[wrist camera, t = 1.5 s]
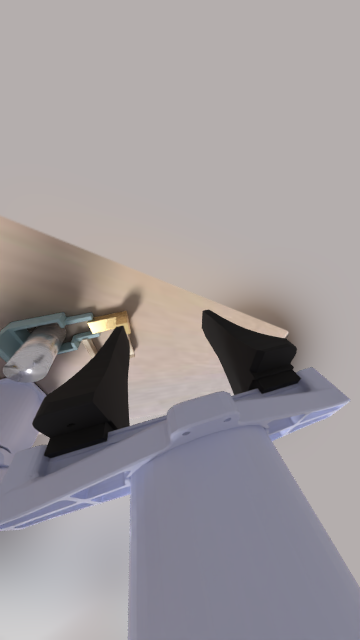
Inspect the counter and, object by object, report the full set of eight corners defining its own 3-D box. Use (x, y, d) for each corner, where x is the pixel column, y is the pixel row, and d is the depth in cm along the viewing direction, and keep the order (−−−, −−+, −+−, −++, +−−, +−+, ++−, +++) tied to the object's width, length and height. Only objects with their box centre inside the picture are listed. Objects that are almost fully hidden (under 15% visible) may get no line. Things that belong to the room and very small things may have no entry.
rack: (134, 351, 29) (134, 356, 28) (97, 361, 27) (96, 367, 26) (125, 325, 25) (126, 329, 24) (83, 334, 24) (81, 340, 23)
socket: (102, 336, 25) (99, 354, 21) (35, 352, 23) (20, 375, 19) (89, 307, 22) (83, 322, 18) (10, 322, 20) (-14, 343, 16)
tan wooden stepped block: (129, 320, 25) (130, 333, 22) (94, 328, 24) (90, 343, 21) (126, 310, 24) (127, 322, 21) (89, 318, 23) (84, 332, 20)
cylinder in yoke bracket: (70, 338, 23) (54, 376, 17) (44, 344, 23) (17, 386, 17) (59, 319, 21) (36, 354, 15) (29, 325, 21) (-7, 365, 15)
